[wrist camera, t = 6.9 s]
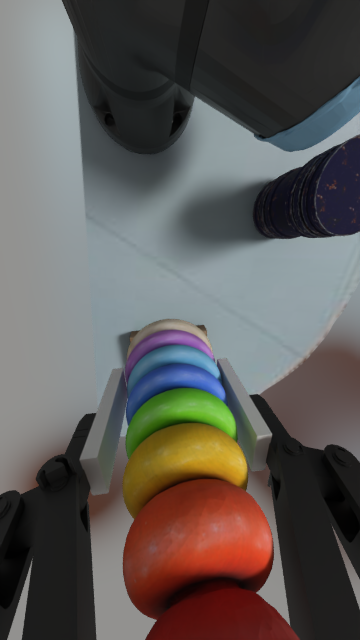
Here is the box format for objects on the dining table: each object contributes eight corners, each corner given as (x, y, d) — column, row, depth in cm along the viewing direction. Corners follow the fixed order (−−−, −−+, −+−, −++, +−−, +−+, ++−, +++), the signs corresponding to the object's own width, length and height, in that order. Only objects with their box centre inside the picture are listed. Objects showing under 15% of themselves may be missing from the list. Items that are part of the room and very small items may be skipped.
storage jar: (288, 245, 37) (364, 246, 23) (244, 231, 35) (298, 224, 22) (313, 187, 34) (420, 149, 20) (266, 168, 32) (346, 112, 18)
